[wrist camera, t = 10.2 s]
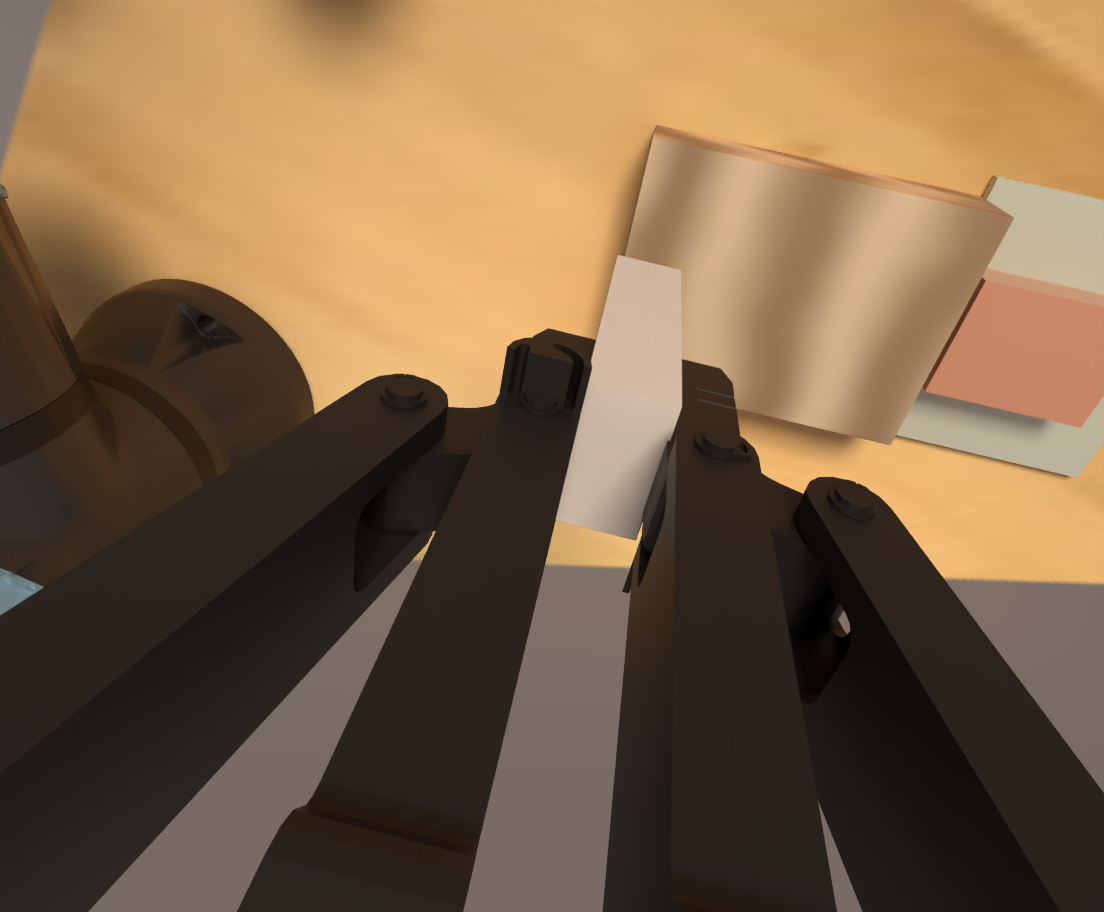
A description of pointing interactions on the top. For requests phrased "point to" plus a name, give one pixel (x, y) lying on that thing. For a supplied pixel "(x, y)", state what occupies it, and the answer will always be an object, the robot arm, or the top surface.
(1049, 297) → the tile
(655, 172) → the deck
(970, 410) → the mat
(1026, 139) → the top surface
